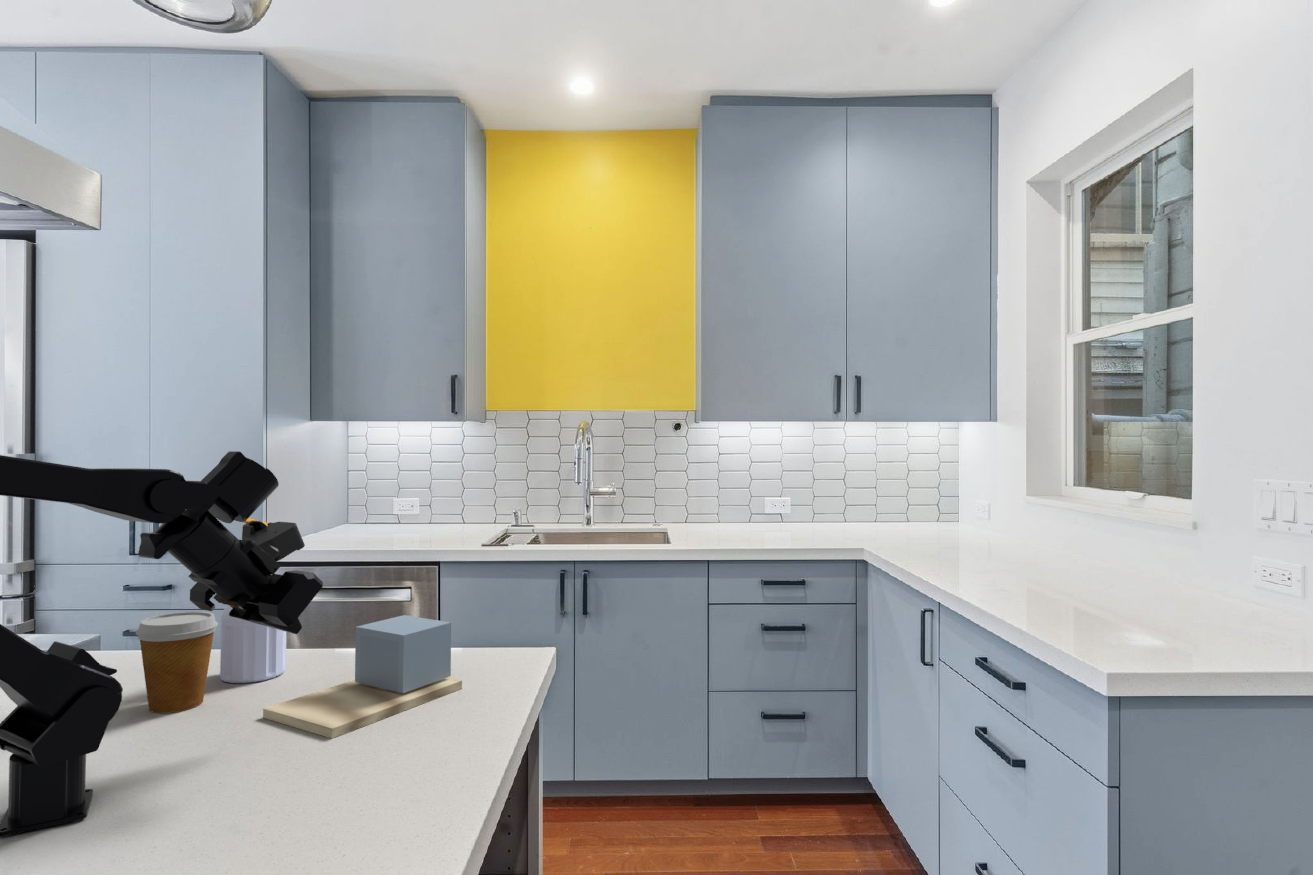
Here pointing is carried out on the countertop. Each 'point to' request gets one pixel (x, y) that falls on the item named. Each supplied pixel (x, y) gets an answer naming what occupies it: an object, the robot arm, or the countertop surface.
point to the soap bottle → (250, 649)
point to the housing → (402, 653)
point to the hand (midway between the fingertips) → (297, 630)
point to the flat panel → (352, 706)
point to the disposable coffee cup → (176, 659)
